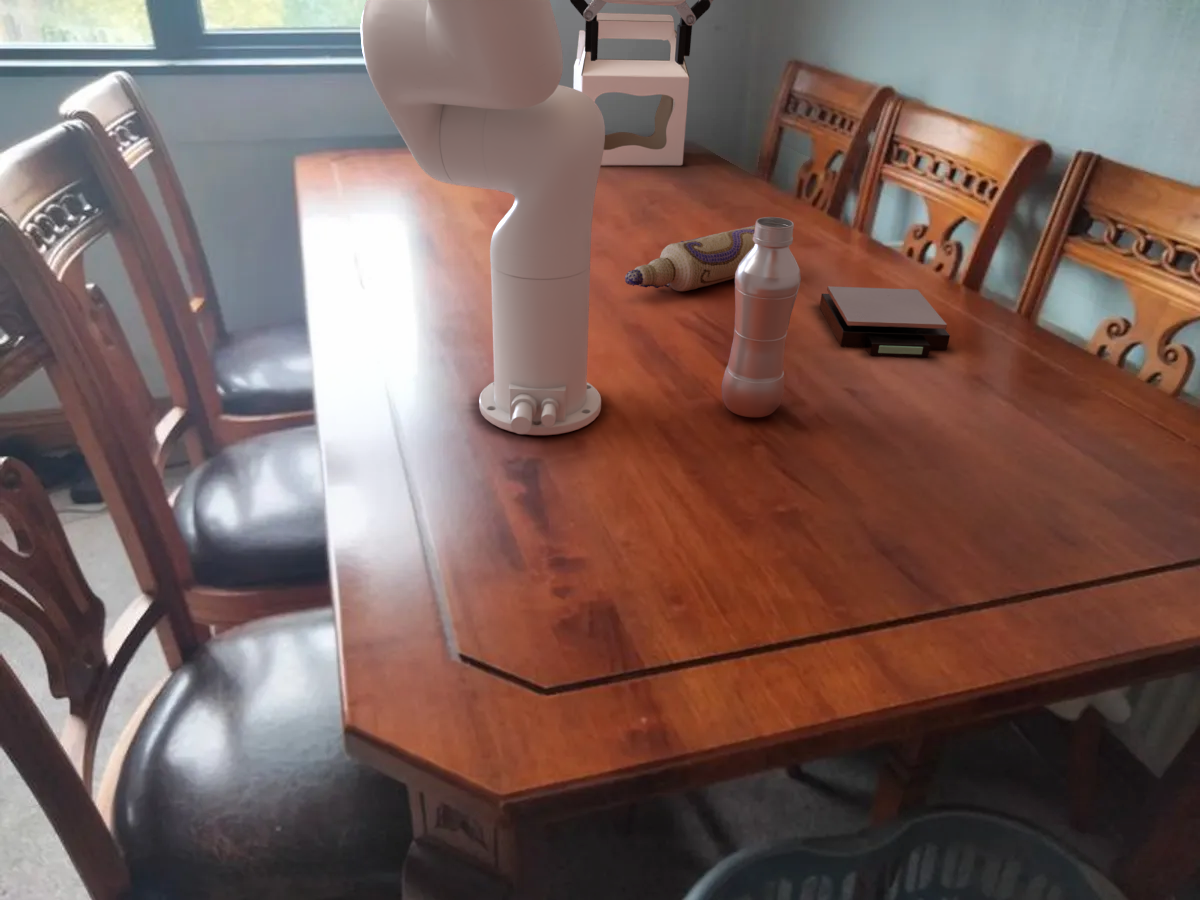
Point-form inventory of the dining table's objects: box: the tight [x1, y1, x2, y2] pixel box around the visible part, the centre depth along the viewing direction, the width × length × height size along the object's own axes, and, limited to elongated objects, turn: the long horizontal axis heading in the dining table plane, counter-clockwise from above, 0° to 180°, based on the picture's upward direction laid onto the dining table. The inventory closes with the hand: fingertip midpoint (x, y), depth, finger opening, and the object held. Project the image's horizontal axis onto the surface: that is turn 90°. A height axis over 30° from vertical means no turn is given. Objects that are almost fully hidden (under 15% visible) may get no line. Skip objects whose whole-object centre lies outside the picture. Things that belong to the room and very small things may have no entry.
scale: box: [819, 285, 951, 358], centre depth 115 cm, size 16×13×3 cm
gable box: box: [573, 12, 690, 167], centre depth 187 cm, size 22×13×28 cm, turn 98°
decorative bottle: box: [624, 224, 755, 292], centre depth 127 cm, size 26×8×7 cm, turn 125°
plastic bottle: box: [721, 216, 802, 418], centre depth 91 cm, size 6×7×20 cm
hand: (636, 61), depth 102 cm, fingers open, 9 cm apart
